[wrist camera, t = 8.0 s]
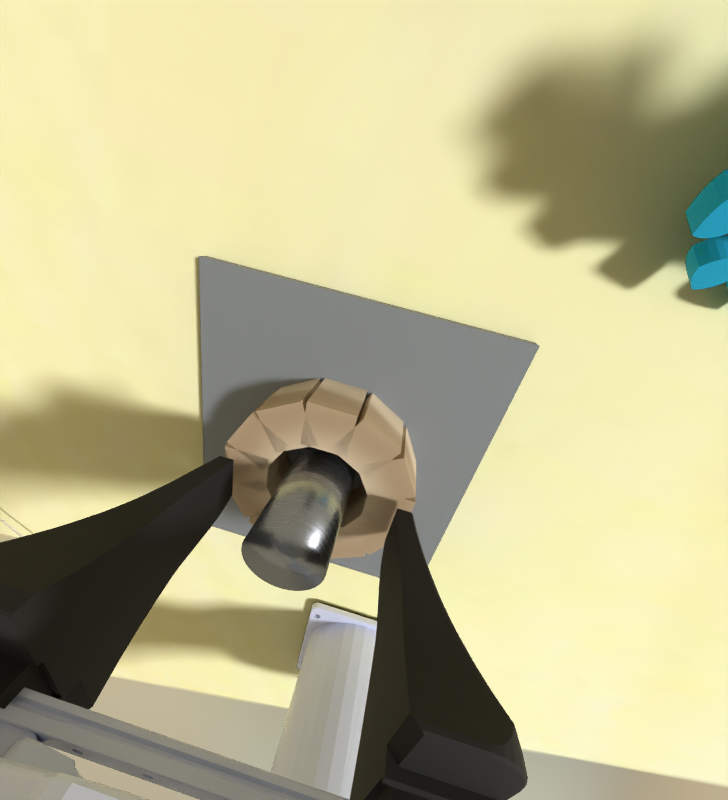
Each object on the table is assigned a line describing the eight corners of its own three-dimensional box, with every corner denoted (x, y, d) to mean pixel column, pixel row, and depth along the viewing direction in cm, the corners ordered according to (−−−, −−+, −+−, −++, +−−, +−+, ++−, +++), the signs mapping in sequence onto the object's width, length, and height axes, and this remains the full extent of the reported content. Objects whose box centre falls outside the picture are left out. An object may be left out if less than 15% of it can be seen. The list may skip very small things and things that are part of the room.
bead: (388, 536, 17) (384, 577, 15) (248, 493, 18) (223, 528, 16) (437, 409, 14) (441, 439, 11) (257, 359, 14) (226, 378, 12)
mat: (415, 581, 19) (416, 588, 19) (209, 518, 20) (205, 523, 20) (535, 342, 12) (539, 345, 12) (206, 256, 13) (198, 256, 12)
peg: (352, 487, 16) (317, 600, 11) (298, 470, 16) (238, 574, 11) (365, 442, 15) (334, 546, 10) (307, 424, 15) (244, 517, 10)
